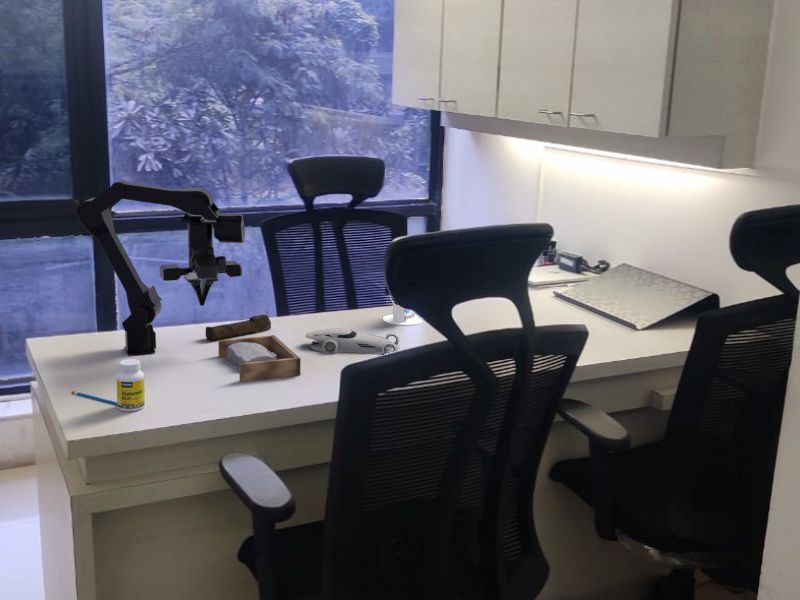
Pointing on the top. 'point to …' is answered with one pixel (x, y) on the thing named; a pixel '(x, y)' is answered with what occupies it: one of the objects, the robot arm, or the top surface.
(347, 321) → the top surface
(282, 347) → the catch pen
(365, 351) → the car model
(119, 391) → the supplement bottle
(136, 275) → the robot arm
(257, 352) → the stone block
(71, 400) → the top surface
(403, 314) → the white upright piece
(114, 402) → the pencil
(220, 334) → the brown wooden log
